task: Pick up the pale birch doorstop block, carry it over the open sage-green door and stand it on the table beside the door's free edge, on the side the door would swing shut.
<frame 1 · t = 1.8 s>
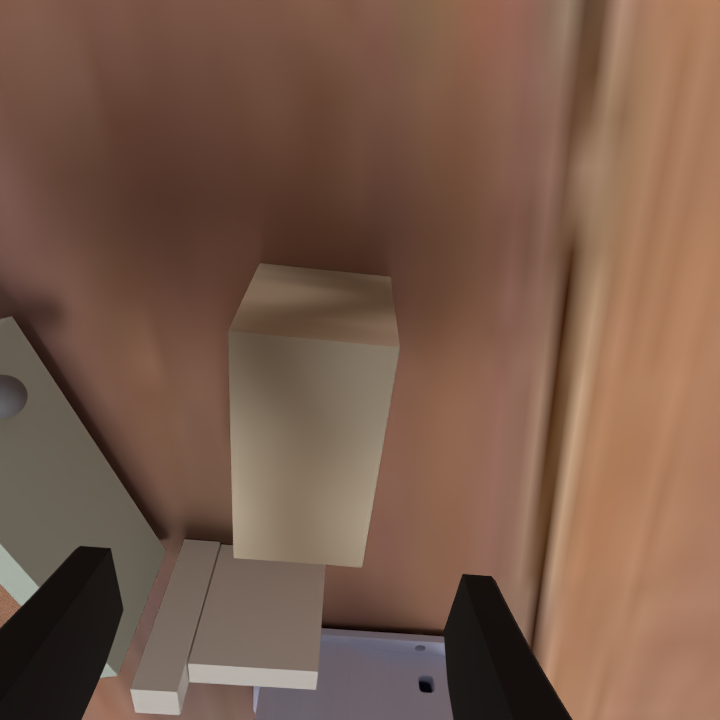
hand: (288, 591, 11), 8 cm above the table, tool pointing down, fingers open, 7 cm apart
door: (69, 502, 17), point 3 cm above the table, hinge at 70.0°
birch doorstop block: (317, 376, 18), on the table
wall frame: (19, 538, 22), on the table
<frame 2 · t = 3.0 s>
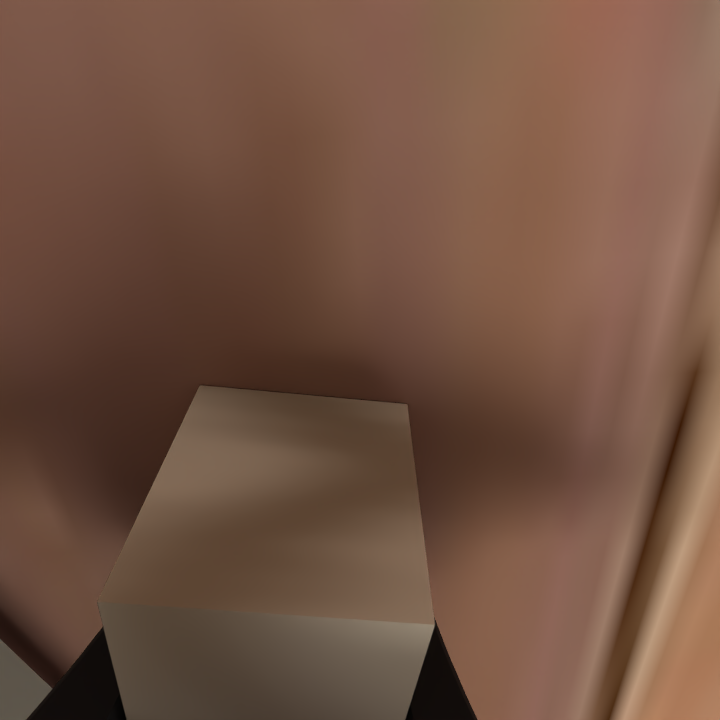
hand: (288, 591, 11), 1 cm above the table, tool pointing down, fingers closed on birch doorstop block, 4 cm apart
birch doorstop block: (295, 534, 12), on the table, touching gripper
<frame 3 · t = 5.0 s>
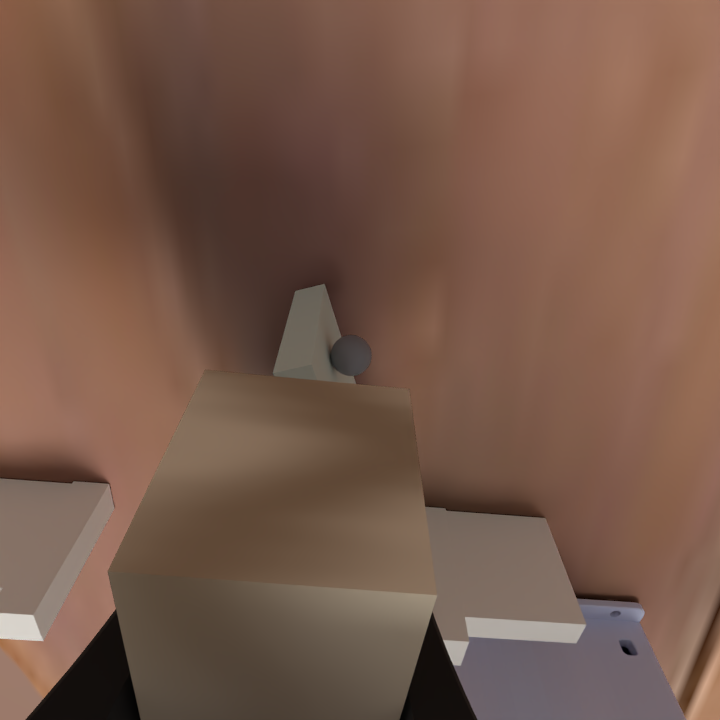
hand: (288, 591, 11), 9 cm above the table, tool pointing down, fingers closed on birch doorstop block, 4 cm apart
door: (369, 461, 18), point 3 cm above the table, hinge at 70.0°
birch doorstop block: (298, 520, 12), point 8 cm above the table, touching gripper
wall frame: (253, 506, 23), on the table
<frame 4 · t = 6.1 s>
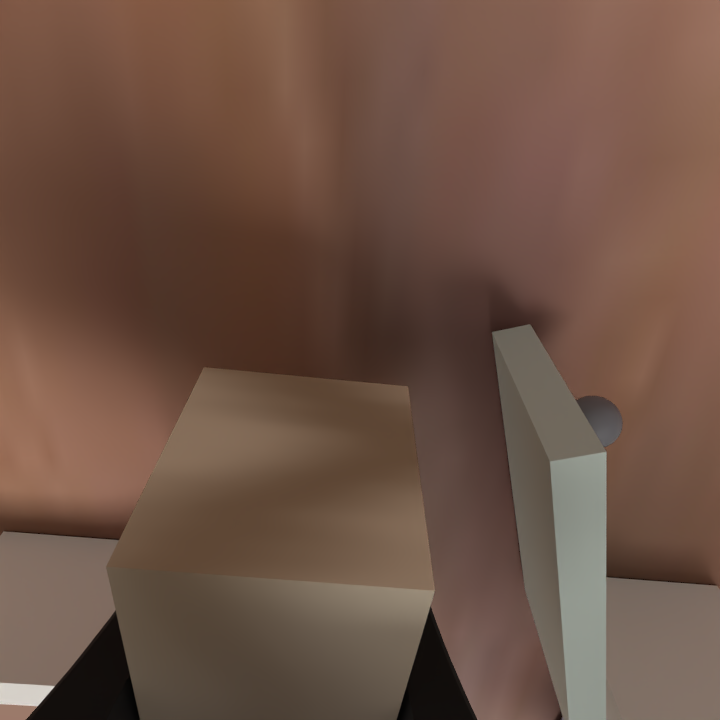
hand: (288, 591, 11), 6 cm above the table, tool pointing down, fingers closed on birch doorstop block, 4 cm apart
door: (573, 541, 14), point 3 cm above the table, hinge at 70.0°
birch doorstop block: (297, 517, 12), point 4 cm above the table, touching gripper
wall frame: (380, 570, 20), on the table
when the fingers open (3 cm above the table, at t = 7.0 s): birch doorstop block drops 1 cm, on the table.
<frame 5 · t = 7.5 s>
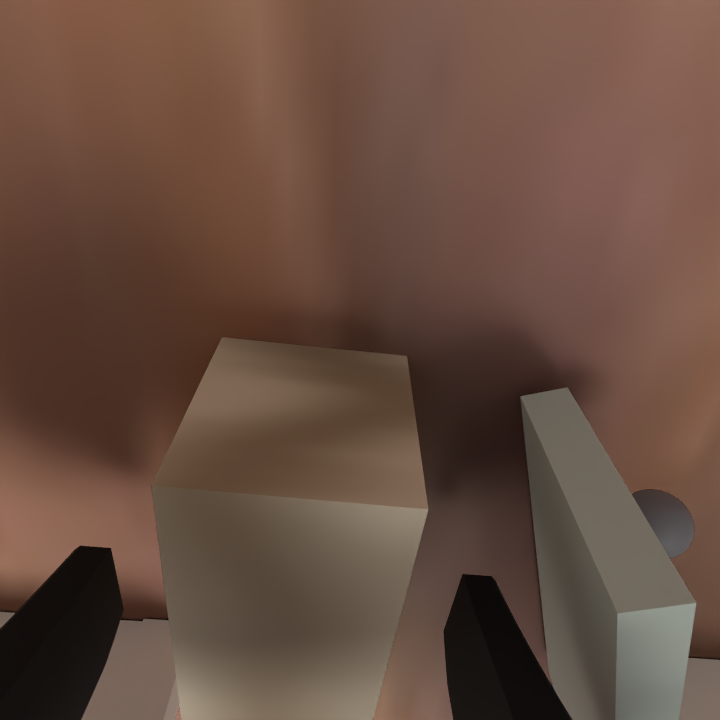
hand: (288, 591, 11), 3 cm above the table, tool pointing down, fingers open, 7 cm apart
door: (618, 647, 12), point 3 cm above the table, hinge at 70.0°
birch doorstop block: (304, 477, 13), on the table
wall frame: (382, 647, 17), on the table
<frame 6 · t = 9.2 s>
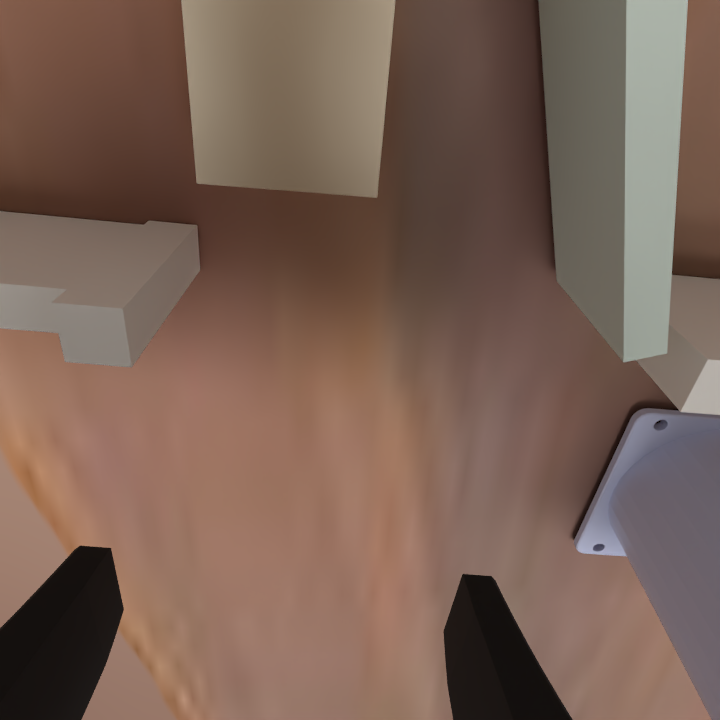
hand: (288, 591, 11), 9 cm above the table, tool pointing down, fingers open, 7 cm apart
door: (627, 87, 12), point 3 cm above the table, hinge at 70.0°
wall frame: (388, 265, 17), on the table
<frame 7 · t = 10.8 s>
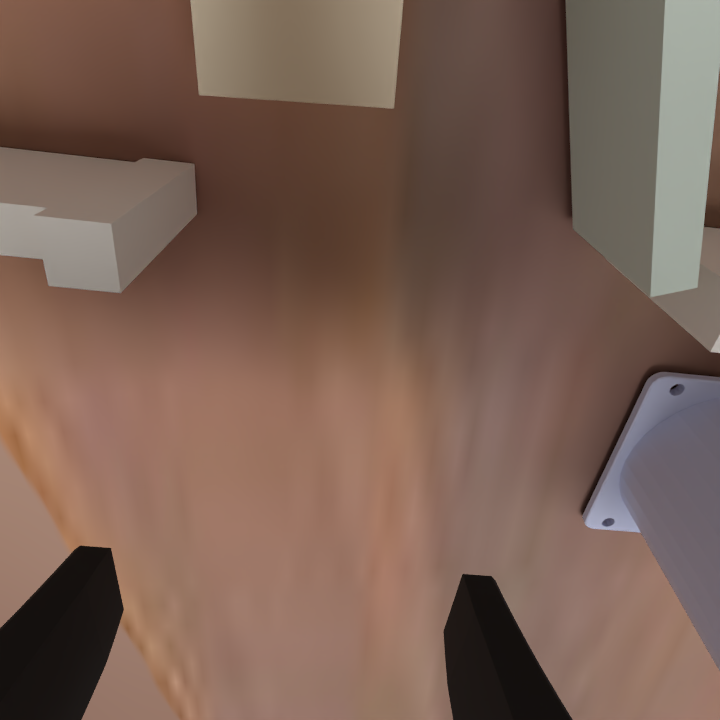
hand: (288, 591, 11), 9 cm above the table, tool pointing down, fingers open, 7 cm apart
wall frame: (396, 211, 16), on the table
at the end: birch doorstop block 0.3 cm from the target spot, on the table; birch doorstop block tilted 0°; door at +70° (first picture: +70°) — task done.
